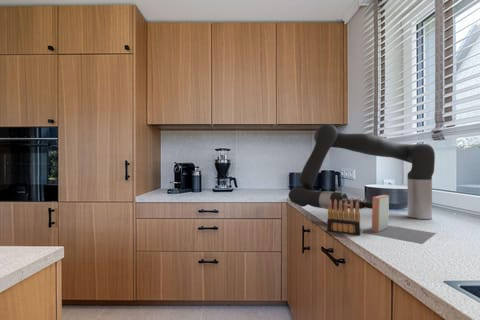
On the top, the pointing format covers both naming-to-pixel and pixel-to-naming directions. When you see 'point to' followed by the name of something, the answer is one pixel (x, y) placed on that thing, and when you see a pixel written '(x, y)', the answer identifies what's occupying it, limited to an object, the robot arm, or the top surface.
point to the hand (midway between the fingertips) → (377, 206)
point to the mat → (403, 234)
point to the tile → (380, 213)
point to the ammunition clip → (343, 218)
